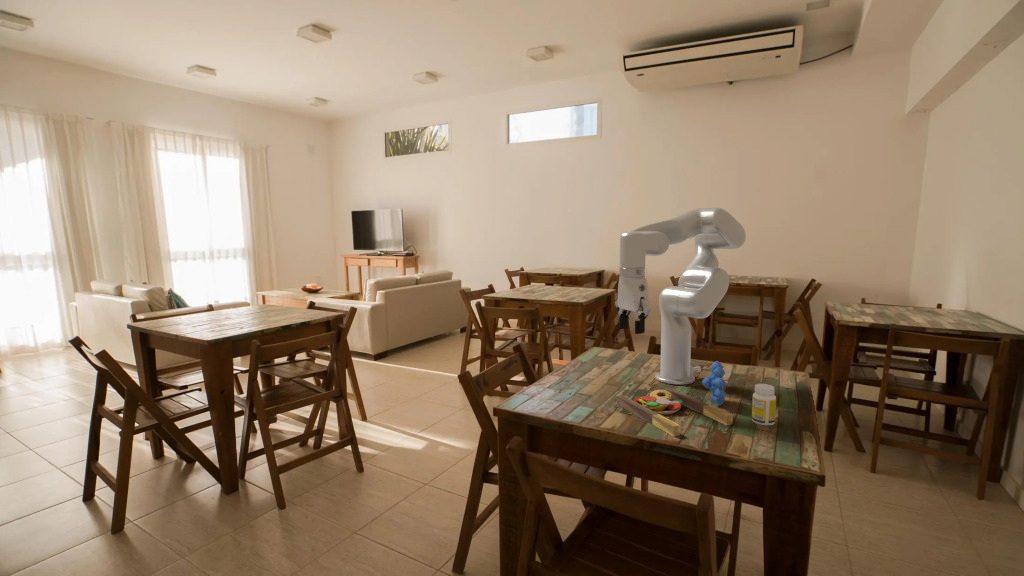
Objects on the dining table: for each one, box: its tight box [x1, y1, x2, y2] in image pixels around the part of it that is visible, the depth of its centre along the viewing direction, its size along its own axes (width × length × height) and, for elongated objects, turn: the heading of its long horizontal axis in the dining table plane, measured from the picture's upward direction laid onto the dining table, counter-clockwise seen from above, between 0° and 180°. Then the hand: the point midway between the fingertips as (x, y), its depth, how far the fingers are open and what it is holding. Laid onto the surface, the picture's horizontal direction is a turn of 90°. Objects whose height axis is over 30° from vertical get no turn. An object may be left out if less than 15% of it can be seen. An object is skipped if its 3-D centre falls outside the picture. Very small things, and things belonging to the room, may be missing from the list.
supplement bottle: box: [751, 383, 777, 426], centre depth 122 cm, size 6×5×10 cm
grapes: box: [701, 360, 727, 406], centre depth 137 cm, size 12×7×12 cm, turn 166°
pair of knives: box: [616, 387, 734, 437], centre depth 129 cm, size 19×24×2 cm
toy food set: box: [633, 389, 683, 416], centre depth 134 cm, size 13×13×3 cm
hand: (631, 330), depth 144 cm, fingers open, 7 cm apart
